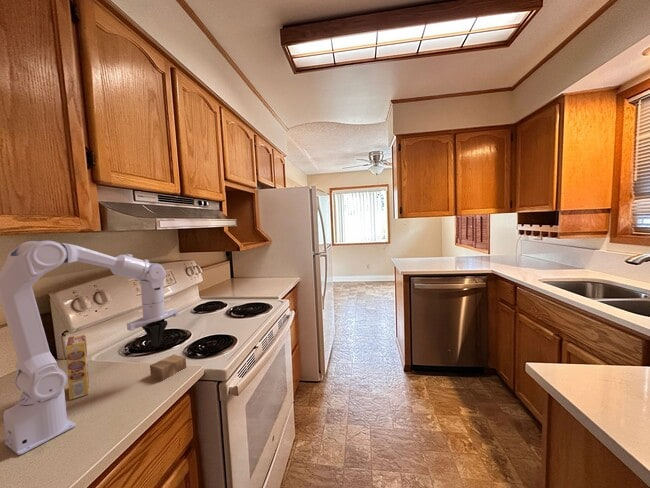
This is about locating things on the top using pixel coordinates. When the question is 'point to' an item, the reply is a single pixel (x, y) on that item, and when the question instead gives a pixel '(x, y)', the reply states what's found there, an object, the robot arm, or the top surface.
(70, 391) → the candy box
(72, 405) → the top surface
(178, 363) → the walnut block
